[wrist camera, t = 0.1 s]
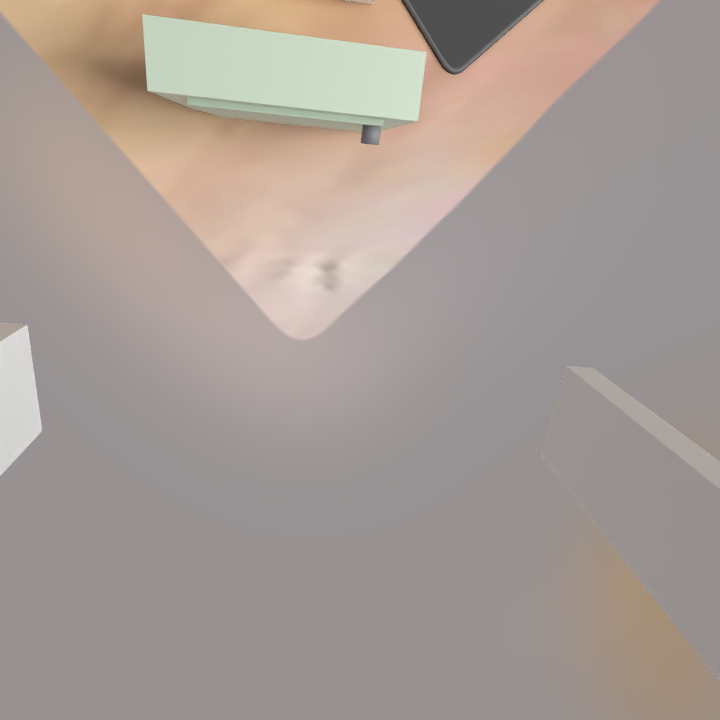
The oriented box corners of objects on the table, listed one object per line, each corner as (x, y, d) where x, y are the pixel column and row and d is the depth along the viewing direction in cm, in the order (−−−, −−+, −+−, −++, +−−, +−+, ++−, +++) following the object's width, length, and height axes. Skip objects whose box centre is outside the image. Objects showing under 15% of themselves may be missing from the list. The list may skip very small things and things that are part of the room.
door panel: (197, 130, 34) (149, 119, 23) (195, 60, 32) (142, 14, 22) (379, 148, 36) (414, 147, 25) (386, 84, 34) (426, 52, 23)
